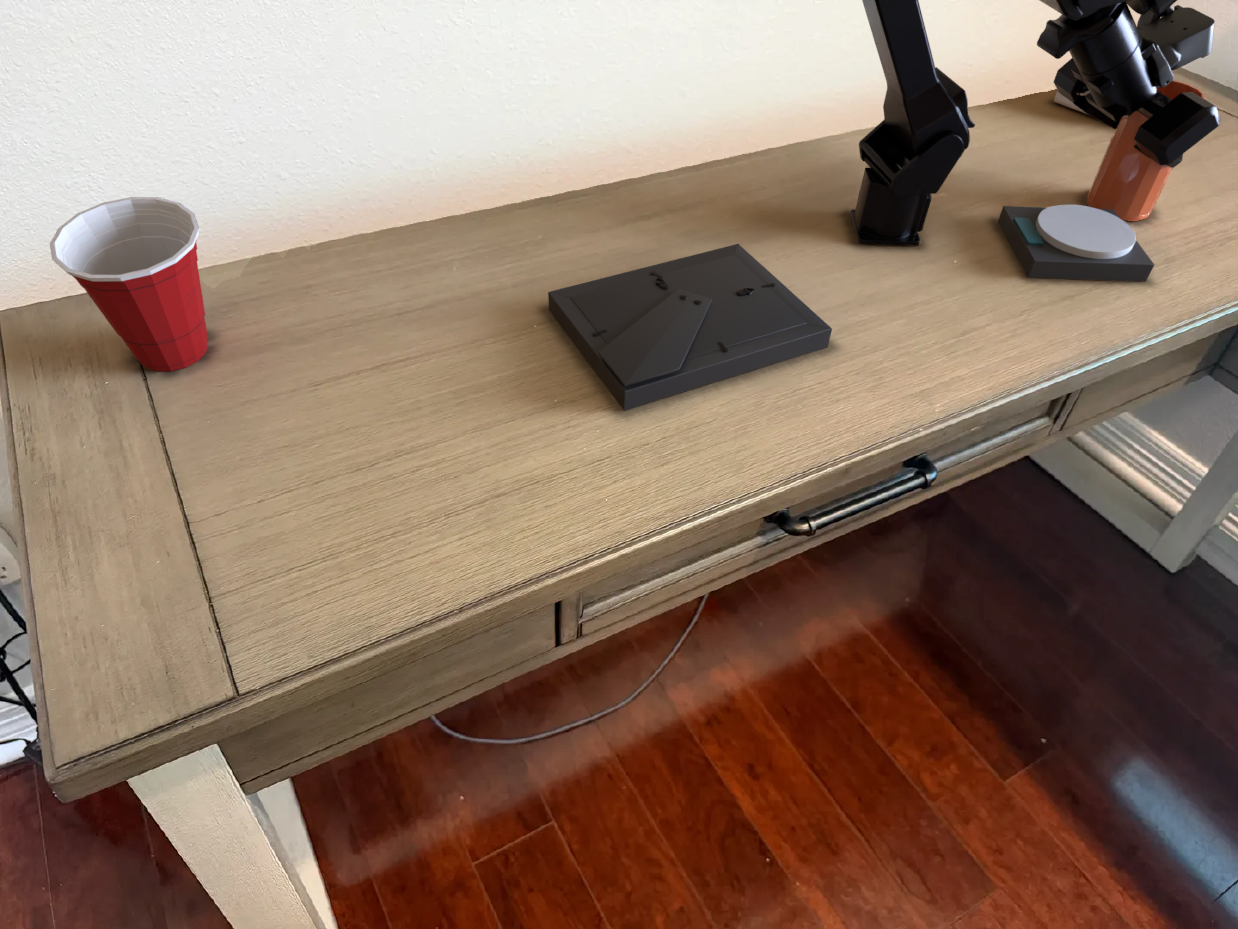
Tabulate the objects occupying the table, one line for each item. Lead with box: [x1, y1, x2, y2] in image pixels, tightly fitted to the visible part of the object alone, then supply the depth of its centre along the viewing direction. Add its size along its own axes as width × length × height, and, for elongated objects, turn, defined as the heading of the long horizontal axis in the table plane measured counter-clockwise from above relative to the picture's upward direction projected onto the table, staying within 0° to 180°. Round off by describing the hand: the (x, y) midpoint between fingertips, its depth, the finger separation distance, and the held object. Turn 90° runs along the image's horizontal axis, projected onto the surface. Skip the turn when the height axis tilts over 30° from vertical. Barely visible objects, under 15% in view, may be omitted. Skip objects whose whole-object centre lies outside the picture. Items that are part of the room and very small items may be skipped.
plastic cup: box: [49, 196, 209, 372], centre depth 74 cm, size 11×11×12 cm
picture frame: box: [547, 243, 833, 412], centre depth 81 cm, size 16×3×21 cm
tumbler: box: [1086, 79, 1207, 222], centre depth 97 cm, size 7×7×13 cm
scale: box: [997, 203, 1155, 283], centre depth 93 cm, size 12×11×3 cm
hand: (1154, 148), depth 97 cm, fingers closed on tumbler, 7 cm apart
